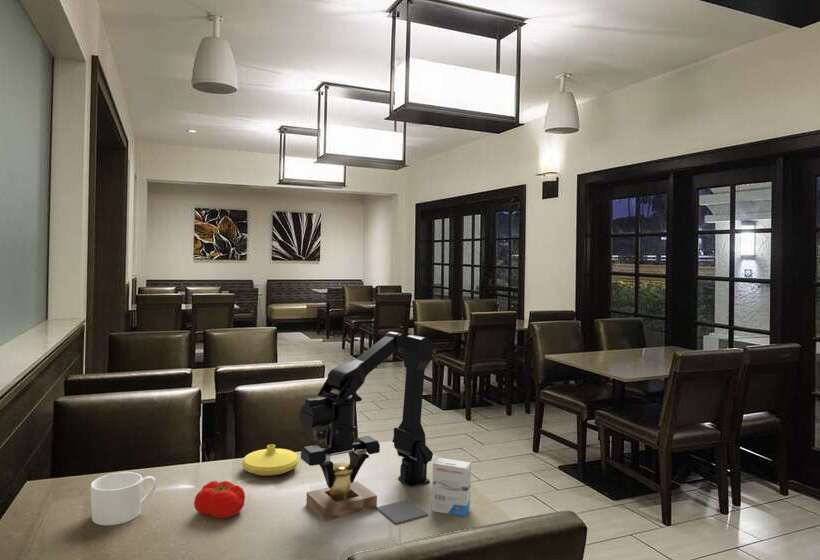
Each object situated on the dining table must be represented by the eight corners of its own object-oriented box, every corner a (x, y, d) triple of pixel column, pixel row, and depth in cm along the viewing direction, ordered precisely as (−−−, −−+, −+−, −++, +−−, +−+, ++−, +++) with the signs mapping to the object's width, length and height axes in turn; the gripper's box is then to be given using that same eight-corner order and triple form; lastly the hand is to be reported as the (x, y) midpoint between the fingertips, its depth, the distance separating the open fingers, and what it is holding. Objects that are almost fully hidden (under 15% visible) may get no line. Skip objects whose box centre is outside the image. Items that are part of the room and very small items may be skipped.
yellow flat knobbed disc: (255, 458, 166) (256, 434, 166) (306, 462, 164) (307, 438, 163) (231, 479, 150) (231, 453, 150) (287, 484, 148) (288, 458, 148)
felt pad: (407, 500, 140) (407, 499, 140) (427, 515, 133) (427, 513, 133) (375, 508, 135) (376, 507, 135) (395, 524, 128) (395, 522, 128)
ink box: (470, 509, 137) (472, 461, 136) (465, 517, 132) (467, 468, 132) (436, 502, 139) (438, 456, 139) (431, 511, 135) (432, 463, 134)
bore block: (357, 492, 144) (357, 481, 144) (376, 507, 136) (377, 495, 136) (306, 504, 136) (306, 492, 136) (323, 521, 128) (324, 508, 128)
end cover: (345, 491, 140) (346, 461, 139) (356, 501, 135) (357, 469, 134) (323, 497, 136) (324, 465, 136) (334, 506, 131) (335, 474, 131)
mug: (89, 530, 121) (89, 493, 120) (91, 510, 130) (91, 475, 130) (157, 518, 127) (157, 483, 127) (154, 500, 136) (155, 467, 136)
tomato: (227, 526, 124) (228, 497, 124) (186, 518, 128) (186, 490, 127) (252, 508, 134) (252, 481, 133) (213, 500, 137) (213, 474, 137)
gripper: (360, 408, 147) (358, 466, 147) (292, 417, 136) (291, 480, 137) (381, 419, 137) (379, 481, 138) (311, 430, 127) (309, 497, 128)
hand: (340, 484), depth 136 cm, fingers closed on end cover, 5 cm apart
